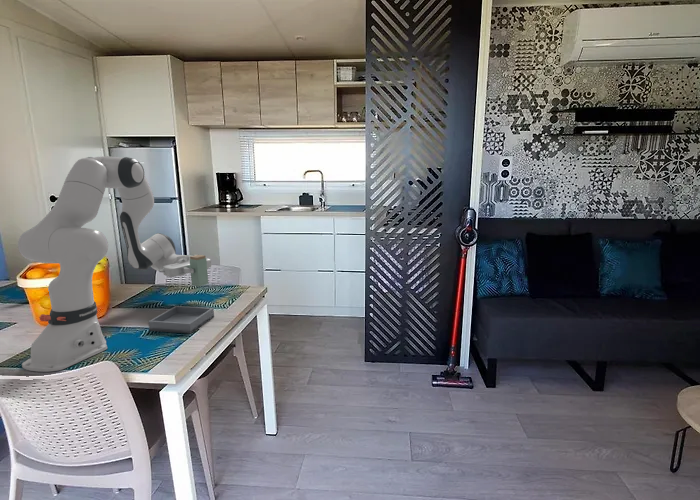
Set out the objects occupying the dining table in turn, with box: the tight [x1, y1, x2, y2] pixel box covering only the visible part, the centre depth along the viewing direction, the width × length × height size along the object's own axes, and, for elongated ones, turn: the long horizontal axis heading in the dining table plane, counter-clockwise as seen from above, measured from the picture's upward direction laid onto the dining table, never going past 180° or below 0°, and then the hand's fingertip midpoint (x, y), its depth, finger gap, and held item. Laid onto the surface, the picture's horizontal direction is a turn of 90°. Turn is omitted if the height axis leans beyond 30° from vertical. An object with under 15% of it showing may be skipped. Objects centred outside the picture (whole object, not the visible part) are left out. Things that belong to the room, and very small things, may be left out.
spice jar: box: [190, 254, 209, 287], centre depth 164 cm, size 5×5×12 cm
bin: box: [147, 305, 215, 334], centre depth 147 cm, size 16×16×4 cm
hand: (200, 269), depth 164 cm, fingers closed on spice jar, 5 cm apart
